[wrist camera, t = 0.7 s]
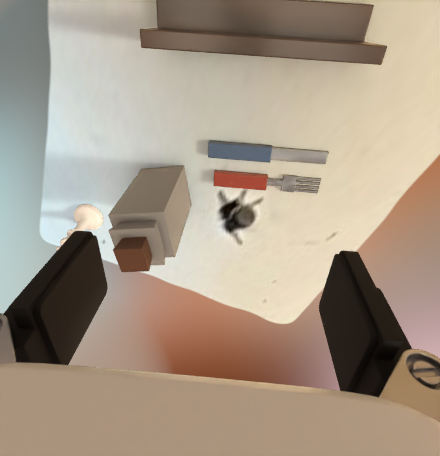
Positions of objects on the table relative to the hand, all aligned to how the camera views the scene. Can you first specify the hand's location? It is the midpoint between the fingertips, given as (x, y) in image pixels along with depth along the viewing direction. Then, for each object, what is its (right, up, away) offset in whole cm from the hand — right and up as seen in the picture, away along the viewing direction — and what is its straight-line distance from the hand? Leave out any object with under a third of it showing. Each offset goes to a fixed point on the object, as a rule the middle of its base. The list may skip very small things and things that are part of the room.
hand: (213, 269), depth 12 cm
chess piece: (-22, +4, +41) cm, 47 cm away
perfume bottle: (-8, +8, +36) cm, 38 cm away
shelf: (+5, +25, +23) cm, 35 cm away
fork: (+7, +9, +34) cm, 36 cm away
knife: (+7, +13, +32) cm, 35 cm away
